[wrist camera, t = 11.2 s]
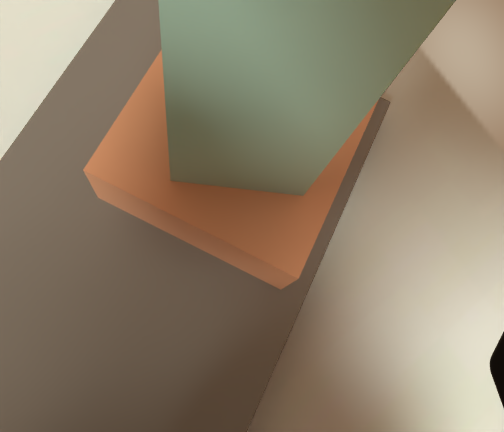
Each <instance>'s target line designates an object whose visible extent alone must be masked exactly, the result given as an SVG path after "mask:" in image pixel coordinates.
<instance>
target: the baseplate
mask: <svg viewBox="0 0 504 432" xmlns="http://www.w3.org/2000/svg"><path fill="white" fill-rule="evenodd" d="M389 104H390V102H389V101H387V100H385V99H383V98H381V97H380V98H379V99H378V101H377V102H376V103H375V105H374V106H373V107H372V108H371V110H370V111H369V112H368V113H367V115H366V116H365V117H364V119H363V120H362V121H361V122H360V124H359V125H358V126H357V128H356V129H355V130H354V131H353V133H352V134H351V135H350V137H349V138H348V139H347V140H346V142H345V143H344V144H343V145H342V147H341V148H340V149H339V151H338V152H337V153H336V154H335V156H334V157H333V158H332V160H331V161H330V162H329V163H328V165H327V166H326V167H325V169H324V170H323V171H322V172H321V174H320V175H319V176H318V178H317V179H316V180H315V181H314V183H313V184H312V185H311V186H310V188H309V189H308V190H307V192H306V193H305V194H304V195H303V196H300V195H292V194H283V193H274V192H265V191H256V190H248V189H239V188H230V187H221V186H212V185H204V184H195V183H186V182H177V181H170V166H169V152H168V137H167V122H166V107H165V92H164V77H163V63H162V48H161V33H160V18H159V3H158V0H115V2H114V3H113V5H112V6H111V7H110V9H109V10H108V11H107V13H106V14H105V16H104V17H103V18H102V20H101V21H100V23H99V24H98V25H97V27H96V28H95V30H94V31H93V32H92V34H91V35H90V36H89V38H88V39H87V41H86V42H85V43H84V45H83V46H82V48H81V49H80V50H79V52H78V53H77V55H76V56H75V57H74V59H73V60H72V61H71V63H70V64H69V66H68V67H67V68H66V70H65V71H64V73H63V74H62V75H61V77H60V78H59V80H58V81H57V82H56V84H55V85H54V87H53V88H52V89H51V91H50V92H49V93H48V95H47V96H46V98H45V99H44V100H43V102H42V103H41V105H40V106H39V107H38V109H37V110H36V112H35V113H34V114H33V116H32V117H31V118H30V120H29V121H28V123H27V124H26V125H25V127H24V128H23V130H22V131H21V132H20V134H19V135H18V137H17V138H16V139H15V141H14V142H13V143H12V145H11V146H10V148H9V149H8V150H7V152H6V153H5V155H4V156H3V157H2V159H1V160H0V432H247V430H248V427H249V425H250V423H251V420H252V418H253V416H254V414H255V411H256V409H257V407H258V404H259V402H260V400H261V398H262V395H263V393H264V391H265V388H266V386H267V384H268V382H269V379H270V377H271V375H272V372H273V370H274V368H275V366H276V363H277V361H278V359H279V356H280V354H281V352H282V349H283V347H284V345H285V343H286V340H287V338H288V336H289V333H290V331H291V329H292V327H293V324H294V322H295V320H296V317H297V315H298V313H299V311H300V308H301V306H302V304H303V301H304V299H305V297H306V294H307V292H308V290H309V288H310V285H311V283H312V281H313V278H314V276H315V274H316V272H317V269H318V267H319V265H320V262H321V260H322V258H323V256H324V253H325V251H326V249H327V246H328V244H329V242H330V240H331V237H332V235H333V233H334V230H335V228H336V226H337V223H338V221H339V219H340V217H341V214H342V212H343V210H344V207H345V205H346V203H347V201H348V198H349V196H350V194H351V191H352V189H353V187H354V185H355V182H356V180H357V178H358V175H359V173H360V171H361V169H362V166H363V164H364V162H365V159H366V157H367V155H368V152H369V150H370V148H371V146H372V143H373V141H374V139H375V136H376V134H377V132H378V130H379V127H380V125H381V123H382V120H383V118H384V116H385V114H386V111H387V109H388V107H389Z"/></svg>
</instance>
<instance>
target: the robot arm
mask: <svg viewBox="0 0 504 432" xmlns="http://www.w3.org/2000/svg"><path fill="white" fill-rule="evenodd" d="M490 370H491V374H492V377H493V380H494V382H495V385H496V388H497V391H498V394H499V396H500V399H501V402H502V405H503V408H504V332H503V334H502V336H501V338H500V340H499V342H498V344H497V346H496V348H495V350H494V352H493V354H492V356H491V359H490Z"/></svg>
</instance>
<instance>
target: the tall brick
mask: <svg viewBox="0 0 504 432" xmlns="http://www.w3.org/2000/svg"><path fill="white" fill-rule="evenodd" d="M455 1H456V0H158V3H159V18H160V33H161V48H162V63H163V77H164V92H165V107H166V122H167V137H168V152H169V166H170V181H177V182H186V183H195V184H204V185H212V186H221V187H230V188H239V189H248V190H256V191H265V192H274V193H283V194H292V195H300V196H303V195H304V194H305V193H306V192H307V190H308V189H309V188H310V186H311V185H312V184H313V183H314V181H315V180H316V179H317V178H318V176H319V175H320V174H321V172H322V171H323V170H324V169H325V167H326V166H327V165H328V163H329V162H330V161H331V160H332V158H333V157H334V156H335V154H336V153H337V152H338V151H339V149H340V148H341V147H342V145H343V144H344V143H345V142H346V140H347V139H348V138H349V137H350V135H351V134H352V133H353V131H354V130H355V129H356V128H357V126H358V125H359V124H360V122H361V121H362V120H363V119H364V117H365V116H366V115H367V113H368V112H369V111H370V110H371V108H372V107H373V106H374V105H375V103H376V102H377V101H378V99H379V98H380V97H381V96H382V94H383V93H384V92H385V90H386V89H387V88H388V87H389V85H390V84H391V83H392V81H393V80H394V79H395V78H396V76H397V75H398V74H399V73H400V71H401V70H402V69H403V67H404V66H405V65H406V64H407V62H408V61H409V60H410V58H411V57H412V56H413V55H414V53H415V52H416V51H417V49H418V48H419V47H420V46H421V44H422V43H423V42H424V40H425V39H426V38H427V37H428V35H429V34H430V33H431V32H432V30H433V29H434V28H435V26H436V25H437V24H438V23H439V21H440V20H441V19H442V17H443V16H444V15H445V14H446V12H447V11H448V10H449V8H450V7H451V6H452V5H453V3H454V2H455Z"/></svg>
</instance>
